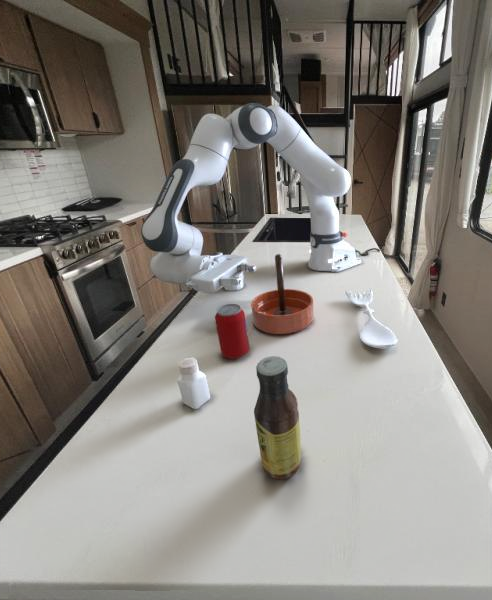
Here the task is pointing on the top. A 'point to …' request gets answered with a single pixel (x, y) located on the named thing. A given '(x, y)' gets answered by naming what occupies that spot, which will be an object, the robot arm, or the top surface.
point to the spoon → (372, 324)
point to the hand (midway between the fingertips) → (247, 275)
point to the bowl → (282, 324)
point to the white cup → (236, 287)
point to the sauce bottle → (277, 420)
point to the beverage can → (232, 331)
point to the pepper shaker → (192, 384)
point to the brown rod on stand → (280, 288)
